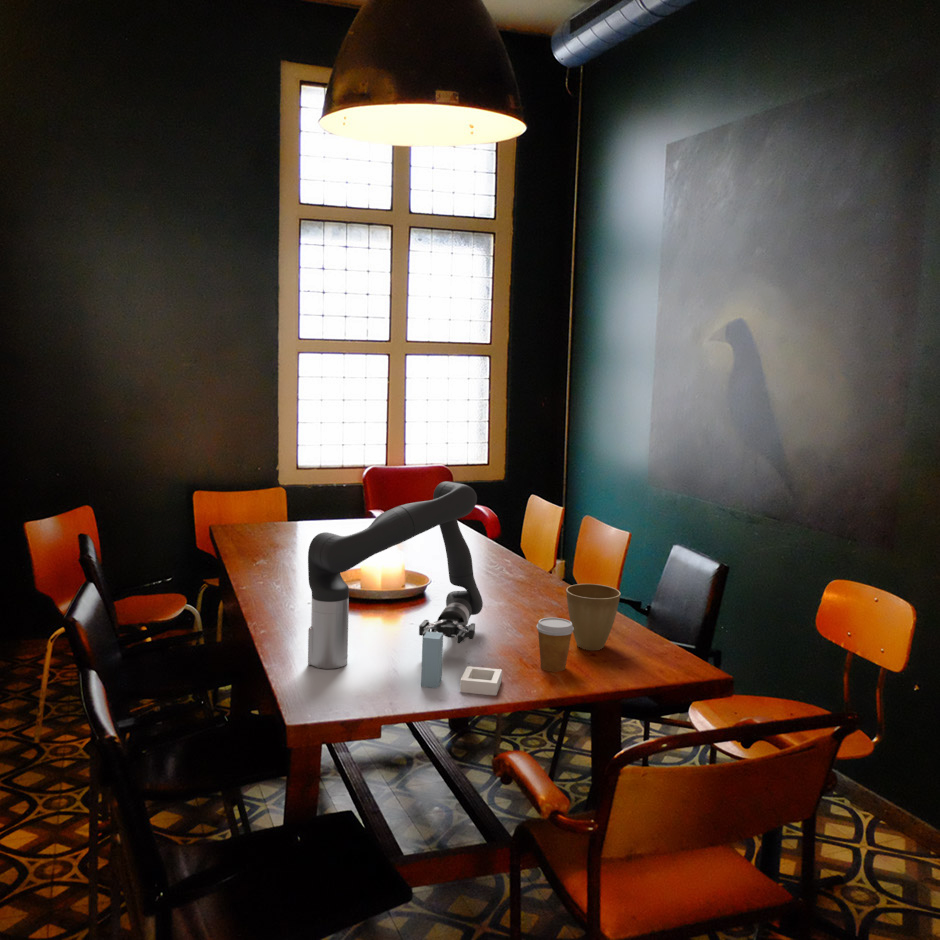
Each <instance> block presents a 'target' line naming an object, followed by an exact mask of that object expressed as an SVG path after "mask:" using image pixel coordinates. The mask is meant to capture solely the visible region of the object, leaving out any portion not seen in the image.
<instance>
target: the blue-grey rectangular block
mask: <svg viewBox="0 0 940 940" xmlns="http://www.w3.org/2000/svg"><path fill="white" fill-rule="evenodd" d="M421 644H422V648H421V677H420V679H421V680H420V687H421V688H422V687H423V688H424V687H425V688H433V689H435V688H436V689H439V686H440V684H441V683H442V679H443V677H442V676H443V649H444V648H443V647H444V645H443V644H444V635H443V633H439V632H431V631H430V632H428V631H427V632H426V634H425V635H424V636H423V635H422V643H421Z"/></svg>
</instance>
